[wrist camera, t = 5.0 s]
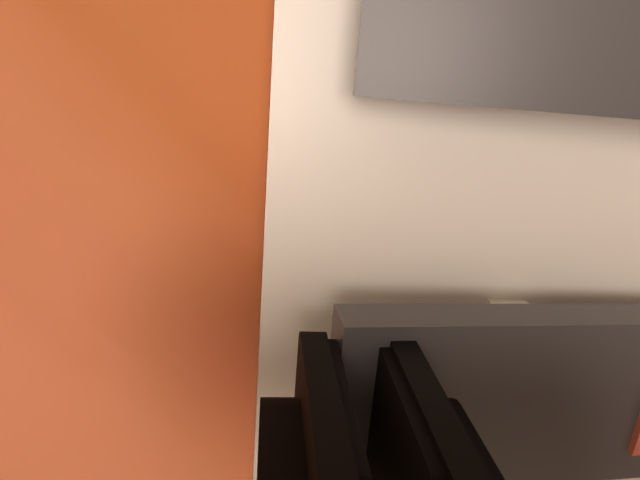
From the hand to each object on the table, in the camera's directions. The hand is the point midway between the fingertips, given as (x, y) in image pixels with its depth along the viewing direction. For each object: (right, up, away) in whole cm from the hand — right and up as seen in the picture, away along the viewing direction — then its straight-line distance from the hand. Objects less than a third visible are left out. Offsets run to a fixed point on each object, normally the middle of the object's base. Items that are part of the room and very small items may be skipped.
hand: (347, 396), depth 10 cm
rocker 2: (+4, 0, +1) cm, 4 cm away
